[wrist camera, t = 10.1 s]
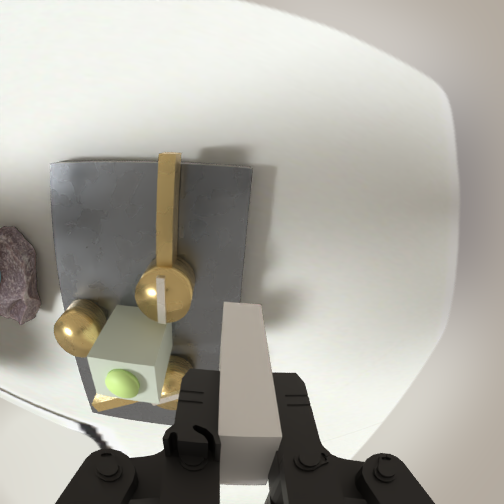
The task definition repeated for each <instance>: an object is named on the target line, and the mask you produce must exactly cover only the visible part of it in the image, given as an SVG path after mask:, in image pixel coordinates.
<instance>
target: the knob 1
mask: <svg viewBox="0 0 504 504" xmlns="http://www.w3.org/2000/svg"><path fill="white" fill-rule="evenodd" d="M180 168H181V153H174V152H165V153H160V154H159V158H158V179H157V212H156V258H155V259H154V260H153V261H151V263H150V264H149V265H148V267H147V269H146V270H145V272H144V274H143V275H142V277H141V279H140V280H139V282H138V284H137V286H136V289H135V300H136V303H137V305H138V307H139V309H140V310H141V311H142V313H143V314H144V315H146V316H147V317H148V318H150V319H152V320H154V321H157V322H158V323H160V324H166V323H171V322H175V321H178V320H180V319H181V318H183V317H184V316H185V315H186V314H187V312H188V311H189V308H190V305H191V300H192V296H193V291H194V287H195V274H194V271H193V269H192V268H191V266H190V265H189V264H188V263H187V262H186V261H185V260H183V259H182V258H180V257H177V241H178V208H179V186H180Z"/></svg>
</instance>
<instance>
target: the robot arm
mask: <svg viewBox="0 0 504 504" xmlns="http://www.w3.org/2000/svg"><path fill="white" fill-rule="evenodd" d="M163 444H164V450H163V451H161V452H159V453H157V454H155V455H151V456H145V457H135V458H129V457H128V456H127V455H125V454H124V453H122V452H121V451H117V450H113V449H100V450H98V451H95V452H93V453H91V454H90V455H89V456H88V457H87V458H86V459H85V461H84V462H83V464H82V465H81V467H80V468H79V470H78V471H77V472H76V474H75V475H74V477H73V478H72V480H71V481H70V483H69V484H68V486H67V487H66V489H65V490H64V491H63V493H62V494H61V496H60V498H59V499H58V500H57V502H56V503H55V504H220V484H226V485H266V484H267V481H269V490H270V491H269V494H268V496H267V499H266V501H265V504H435V503H434V502H433V501H432V499H431V498H430V497H429V495H428V494H427V493H426V491H425V490H424V489H423V487H422V486H421V485H420V484H419V482H418V481H417V480H416V478H415V477H414V476H413V474H412V473H411V472H410V471H409V469H408V468H407V467H406V465H405V464H404V463H403V462H402V461H401V460H400V459H399V458H397V457H396V456H393V455H391V454H385V453H380V454H375V455H372V456H371V457H369V458H368V459H367V460H366V461H365V462H360V461H353V460H347V459H342V458H338V457H336V456H334V455H332V454H330V452H329V451H328V450H327V449H325V448H324V447H323V446H322V444H321V441H320V439H319V435H318V431H317V427H316V423H315V420H314V416H313V412H312V409H311V406H310V401H309V397H308V394H307V390H306V386H305V383H304V382H303V381H302V379H301V378H300V377H299V376H298V375H297V374H296V373H272V369H271V363H270V357H269V351H268V344H267V338H266V332H265V326H264V319H263V313H262V307H261V304H248V303H234V302H224V307H223V319H222V333H221V346H220V363H219V371H216V370H204V369H193V368H190V369H189V370H188V371H187V373H186V374H185V375H184V376H183V377H182V381H181V386H180V392H179V398H178V403H177V409H176V415H175V421H174V425H172V426H171V427H170V428H169V429H167V430H166V432H165V434H164V436H163Z"/></svg>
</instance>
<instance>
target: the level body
mask: <svg viewBox="0 0 504 504" xmlns="http://www.w3.org/2000/svg"><path fill="white" fill-rule="evenodd" d="M172 346H173V344H172V322H171V323H166V324H160V323H158V322H157V321H154V320H152V319H150V318H148V317H147V316H146V315H144V314H143V313H142V311H141V310H140V309H139V307H133V306H124V305H117V306H116V307H115V309H114V310H113V312H112V314H111V315H110V317H109V319H108V320H107V322H106V324H105V326H104V327H103V329H102V331H101V332H100V334H99V336H98V338H97V339H96V341H95V343H94V345H93V346H92V348H91V350H90V352H89V353H88V355H87V359H88V363H89V367H90V371H91V374H92V378H93V382H94V385H95V389H96V392H97V394H99V395H104V396H110V397H115V398H121V399H127V400H134V401H140V402H148V403H155V404H159V402H160V398H161V393H162V389H163V384H164V380H165V375H166V371H167V367H168V363H169V358H170V354H171V350H172Z"/></svg>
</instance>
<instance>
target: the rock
mask: <svg viewBox="0 0 504 504" xmlns="http://www.w3.org/2000/svg"><path fill="white" fill-rule="evenodd" d="M35 266H36V253H35V250H34V248H33V247H32V245H31V244H30V243H29V242H28V241H27V240H25V239H24V237H23V235H22V233H20V232H19V231H18V230H17V228H16V227H13V226H12V227H5V226H4V227H2V228H0V315H2V316H3V317H5V318H8V319H9V318H11V319H14V320H16V321H18V322H19V324H20V325H22V324H24V323H25V322H28V321H30V320H32V319H33V318H35V317H36V313H37V311H38V310H39V308H40V306H41V301H40V298H39V295H38V292H37V276H36V267H35Z"/></svg>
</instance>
